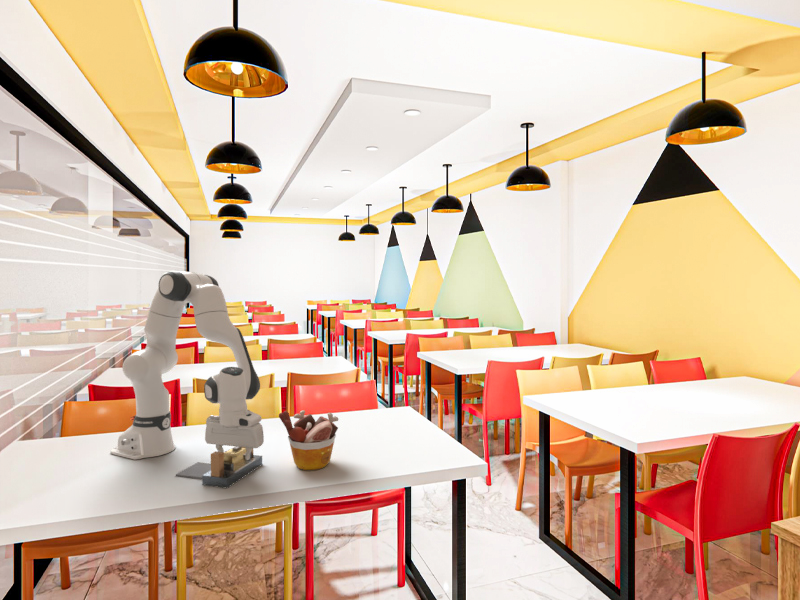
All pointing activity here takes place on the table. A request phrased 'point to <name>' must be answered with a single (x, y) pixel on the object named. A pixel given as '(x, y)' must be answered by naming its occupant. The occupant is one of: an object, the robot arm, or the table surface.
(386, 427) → the table surface
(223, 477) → the hand plane
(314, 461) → the fried chicken
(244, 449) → the tan rectangular block
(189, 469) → the mat
